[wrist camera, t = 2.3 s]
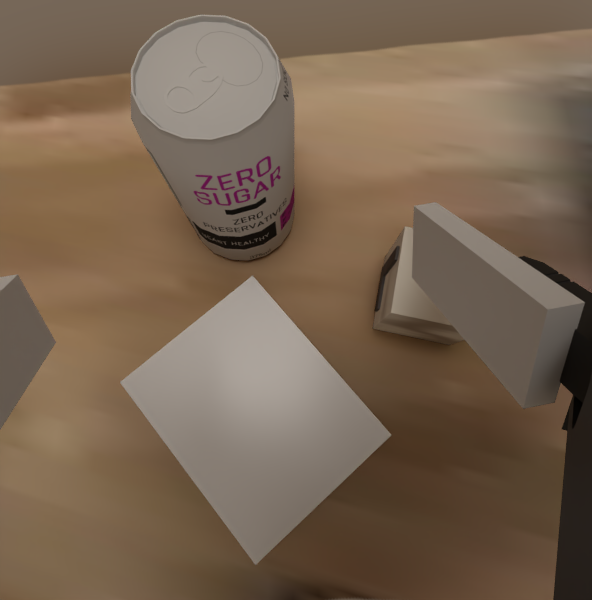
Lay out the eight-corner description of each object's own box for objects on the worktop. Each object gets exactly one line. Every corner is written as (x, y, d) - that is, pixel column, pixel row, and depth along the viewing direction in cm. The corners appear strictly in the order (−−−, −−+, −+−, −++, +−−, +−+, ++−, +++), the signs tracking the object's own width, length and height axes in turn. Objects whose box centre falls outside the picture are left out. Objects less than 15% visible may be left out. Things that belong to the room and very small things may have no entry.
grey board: (385, 432, 29) (391, 435, 27) (258, 553, 27) (255, 565, 25) (254, 283, 32) (252, 275, 30) (131, 383, 30) (119, 382, 28)
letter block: (458, 272, 32) (495, 244, 26) (449, 345, 30) (486, 332, 25) (382, 256, 32) (402, 225, 26) (370, 328, 31) (387, 311, 25)
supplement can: (243, 155, 34) (206, -23, 20) (314, 215, 33) (330, 71, 18) (175, 218, 33) (80, 76, 18) (245, 283, 32) (204, 186, 17)
